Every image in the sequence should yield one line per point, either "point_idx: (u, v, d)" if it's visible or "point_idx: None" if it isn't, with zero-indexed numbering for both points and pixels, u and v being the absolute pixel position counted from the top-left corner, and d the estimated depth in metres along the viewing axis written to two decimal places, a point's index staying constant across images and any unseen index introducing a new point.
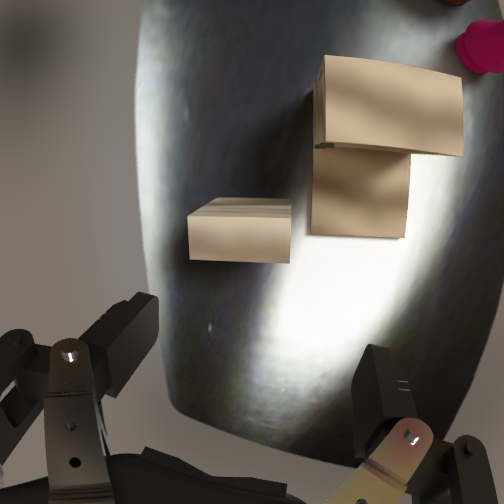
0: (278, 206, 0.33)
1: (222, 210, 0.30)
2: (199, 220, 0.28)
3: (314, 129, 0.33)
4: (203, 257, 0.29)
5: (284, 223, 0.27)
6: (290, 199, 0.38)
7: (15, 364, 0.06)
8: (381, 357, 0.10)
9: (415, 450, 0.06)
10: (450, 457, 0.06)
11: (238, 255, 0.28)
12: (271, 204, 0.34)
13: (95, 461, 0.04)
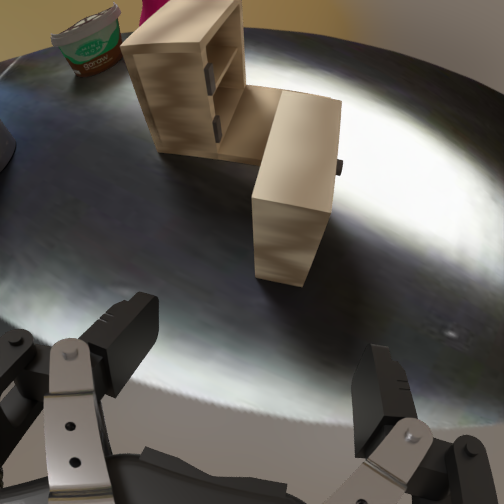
0: None
1: None
2: (263, 181, 0.16)
3: (198, 144, 0.30)
4: (329, 191, 0.16)
5: (288, 95, 0.19)
6: None
7: (15, 364, 0.06)
8: (381, 357, 0.10)
9: (415, 450, 0.06)
10: (450, 457, 0.06)
11: (328, 145, 0.17)
12: None
13: (95, 461, 0.04)
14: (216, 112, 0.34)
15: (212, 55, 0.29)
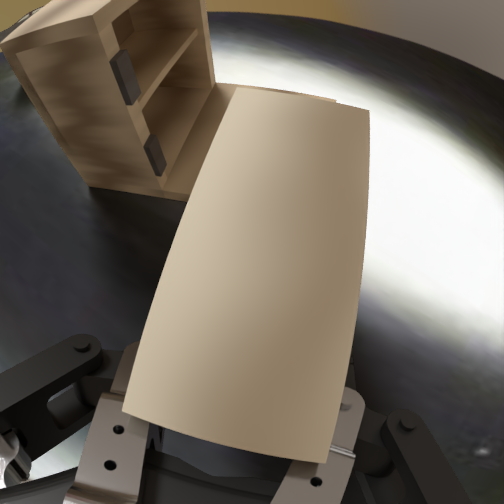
0: None
1: None
2: (151, 366, 0.06)
3: (134, 177, 0.20)
4: (329, 398, 0.05)
5: (247, 99, 0.08)
6: None
7: (74, 371, 0.07)
8: None
9: (342, 416, 0.07)
10: (386, 436, 0.07)
11: (340, 240, 0.07)
12: None
13: (131, 470, 0.04)
14: (169, 124, 0.23)
15: (159, 41, 0.18)
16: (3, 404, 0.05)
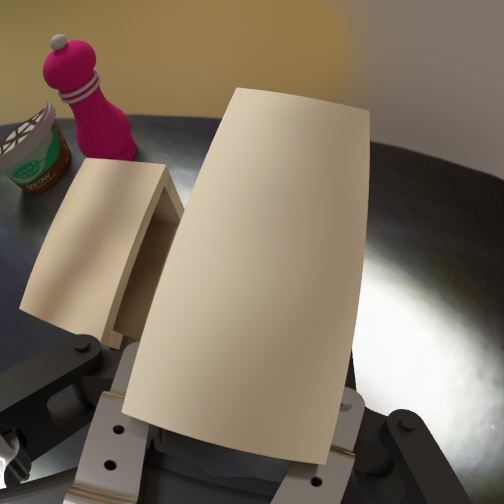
0: None
1: None
2: (151, 367, 0.06)
3: None
4: (329, 400, 0.05)
5: (247, 99, 0.08)
6: None
7: (74, 371, 0.07)
8: None
9: (342, 416, 0.07)
10: (387, 436, 0.07)
11: (340, 241, 0.07)
12: None
13: (131, 470, 0.04)
14: None
15: (145, 243, 0.25)
16: (3, 404, 0.05)
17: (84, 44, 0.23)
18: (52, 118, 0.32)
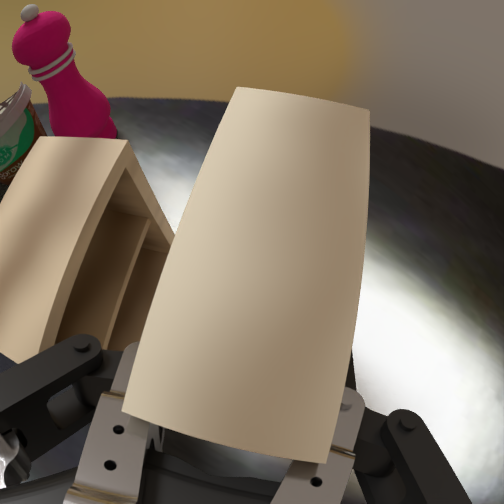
0: None
1: None
2: (151, 366, 0.06)
3: None
4: (329, 398, 0.05)
5: (247, 99, 0.08)
6: None
7: (73, 371, 0.07)
8: None
9: (342, 416, 0.07)
10: (387, 436, 0.07)
11: (340, 240, 0.07)
12: None
13: (131, 470, 0.04)
14: (136, 304, 0.25)
15: (110, 240, 0.20)
16: (3, 404, 0.05)
17: (57, 14, 0.18)
18: (26, 100, 0.26)
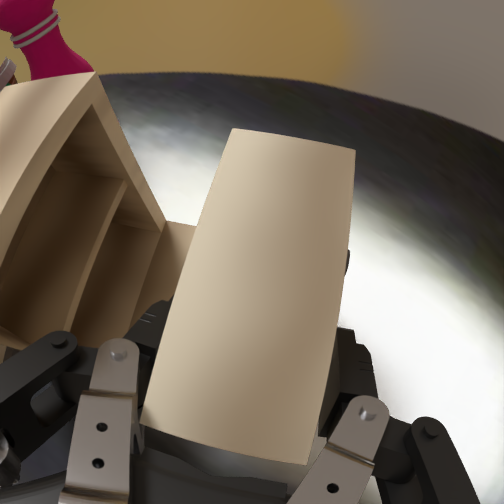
0: None
1: None
2: (163, 386, 0.07)
3: None
4: (309, 412, 0.06)
5: (242, 141, 0.10)
6: None
7: (54, 367, 0.07)
8: (345, 339, 0.10)
9: (368, 426, 0.07)
10: (410, 441, 0.06)
11: (321, 279, 0.08)
12: None
13: (119, 466, 0.04)
14: (113, 290, 0.20)
15: (78, 207, 0.16)
16: None
17: None
18: (9, 74, 0.22)
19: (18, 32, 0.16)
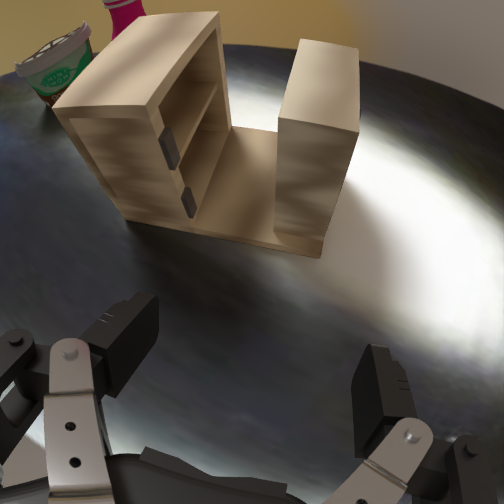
0: None
1: None
2: (289, 104, 0.15)
3: (169, 217, 0.25)
4: (355, 115, 0.15)
5: (306, 42, 0.18)
6: None
7: (15, 364, 0.06)
8: (381, 357, 0.10)
9: (415, 450, 0.06)
10: (450, 457, 0.06)
11: (350, 80, 0.16)
12: None
13: (95, 461, 0.04)
14: (193, 166, 0.29)
15: (185, 95, 0.24)
16: None
17: None
18: (88, 33, 0.31)
19: None
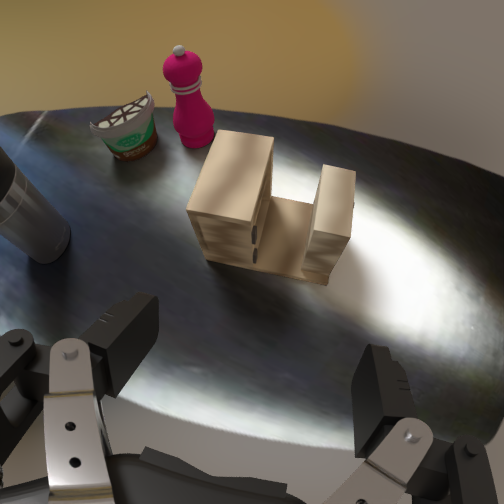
0: None
1: (313, 222, 0.37)
2: (318, 221, 0.33)
3: (239, 261, 0.44)
4: (349, 226, 0.33)
5: (326, 168, 0.36)
6: None
7: (15, 364, 0.06)
8: (381, 357, 0.10)
9: (415, 450, 0.06)
10: (450, 457, 0.06)
11: (348, 201, 0.34)
12: (313, 209, 0.42)
13: (95, 461, 0.04)
14: None
15: None
16: None
17: (196, 55, 0.40)
18: (153, 104, 0.49)
19: (181, 86, 0.42)
